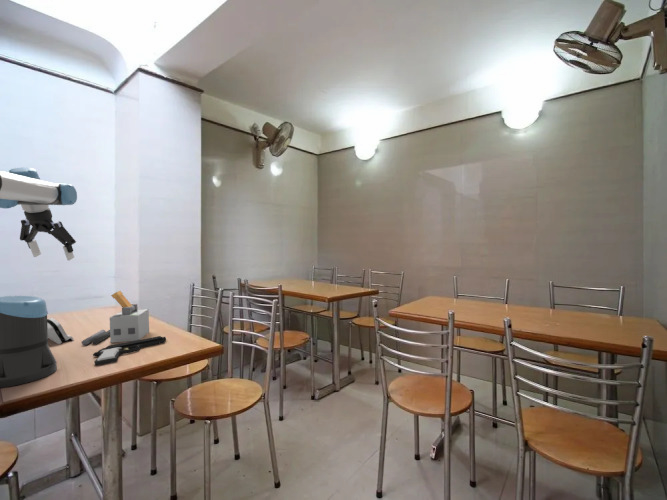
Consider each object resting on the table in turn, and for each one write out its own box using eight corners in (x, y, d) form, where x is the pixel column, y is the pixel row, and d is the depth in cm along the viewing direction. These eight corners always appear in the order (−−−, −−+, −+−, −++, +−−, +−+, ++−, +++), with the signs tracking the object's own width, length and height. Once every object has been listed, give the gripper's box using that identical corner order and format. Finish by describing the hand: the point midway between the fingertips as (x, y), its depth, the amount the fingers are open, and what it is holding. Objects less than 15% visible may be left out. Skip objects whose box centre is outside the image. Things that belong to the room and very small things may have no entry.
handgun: (174, 343, 113) (164, 334, 124) (94, 360, 98) (91, 347, 109) (174, 351, 113) (164, 340, 124) (95, 368, 98) (92, 355, 109)
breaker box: (110, 342, 122) (109, 309, 121) (123, 333, 133) (122, 303, 133) (138, 340, 124) (137, 308, 124) (149, 331, 136) (148, 302, 135)
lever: (126, 314, 126) (110, 295, 124) (131, 312, 131) (115, 293, 129) (132, 311, 126) (115, 292, 125) (136, 308, 131) (121, 290, 130)
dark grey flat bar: (81, 345, 119) (81, 339, 118) (99, 335, 132) (99, 329, 132) (98, 344, 120) (97, 338, 120) (114, 334, 133) (114, 328, 133)
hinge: (74, 340, 125) (62, 319, 122) (60, 347, 122) (47, 325, 119) (61, 334, 135) (50, 314, 132) (47, 340, 131) (36, 320, 128)
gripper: (77, 209, 123) (91, 255, 133) (12, 202, 122) (31, 249, 132) (62, 216, 116) (78, 264, 126) (-7, 209, 116) (15, 258, 125)
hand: (54, 257), depth 129 cm, fingers open, 13 cm apart
